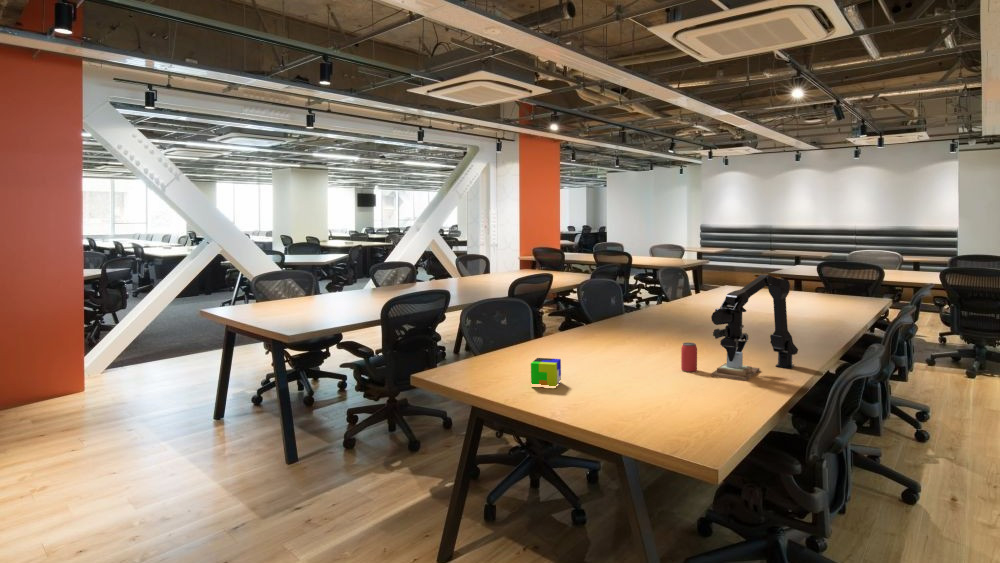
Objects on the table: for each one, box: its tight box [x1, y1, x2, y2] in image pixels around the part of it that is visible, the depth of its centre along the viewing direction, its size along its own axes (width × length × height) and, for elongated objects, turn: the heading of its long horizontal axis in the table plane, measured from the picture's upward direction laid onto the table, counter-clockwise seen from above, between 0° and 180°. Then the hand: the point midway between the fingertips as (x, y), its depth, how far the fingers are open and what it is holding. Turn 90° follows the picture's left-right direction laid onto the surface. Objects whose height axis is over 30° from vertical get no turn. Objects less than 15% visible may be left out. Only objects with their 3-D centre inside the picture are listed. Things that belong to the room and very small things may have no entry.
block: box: [726, 351, 744, 369], centre depth 242 cm, size 5×5×6 cm
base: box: [710, 362, 760, 382], centre depth 243 cm, size 20×14×3 cm
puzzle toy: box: [530, 357, 562, 386], centre depth 233 cm, size 10×10×10 cm
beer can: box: [680, 342, 698, 373], centre depth 250 cm, size 7×7×12 cm
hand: (734, 359), depth 241 cm, fingers open, 9 cm apart
